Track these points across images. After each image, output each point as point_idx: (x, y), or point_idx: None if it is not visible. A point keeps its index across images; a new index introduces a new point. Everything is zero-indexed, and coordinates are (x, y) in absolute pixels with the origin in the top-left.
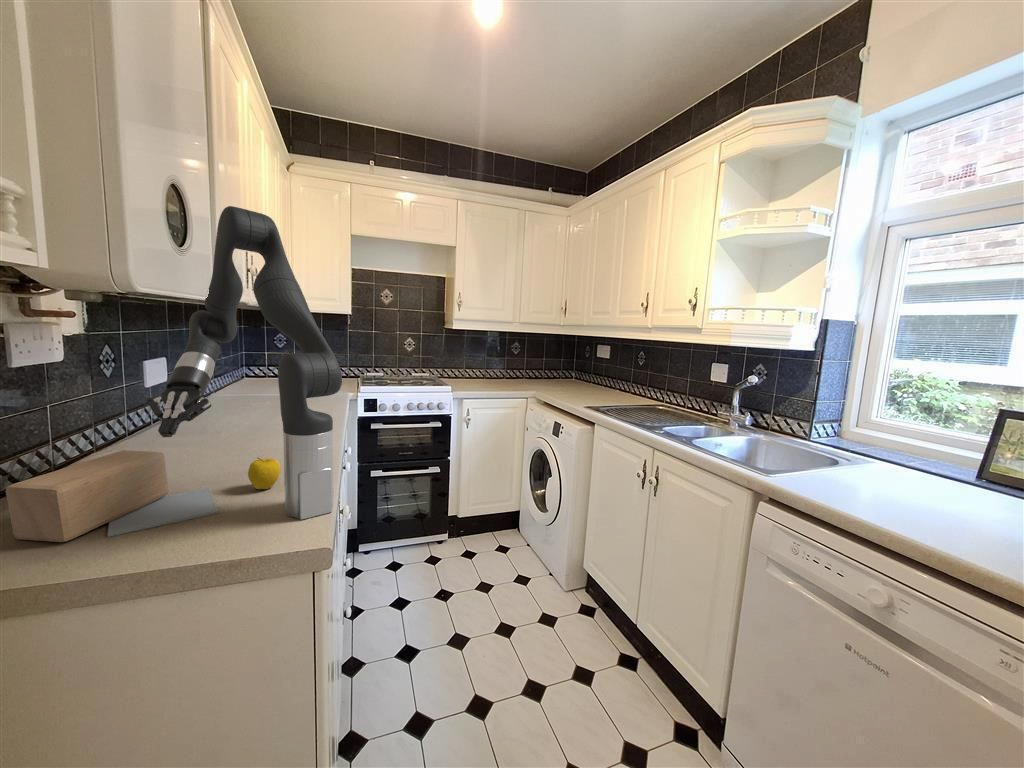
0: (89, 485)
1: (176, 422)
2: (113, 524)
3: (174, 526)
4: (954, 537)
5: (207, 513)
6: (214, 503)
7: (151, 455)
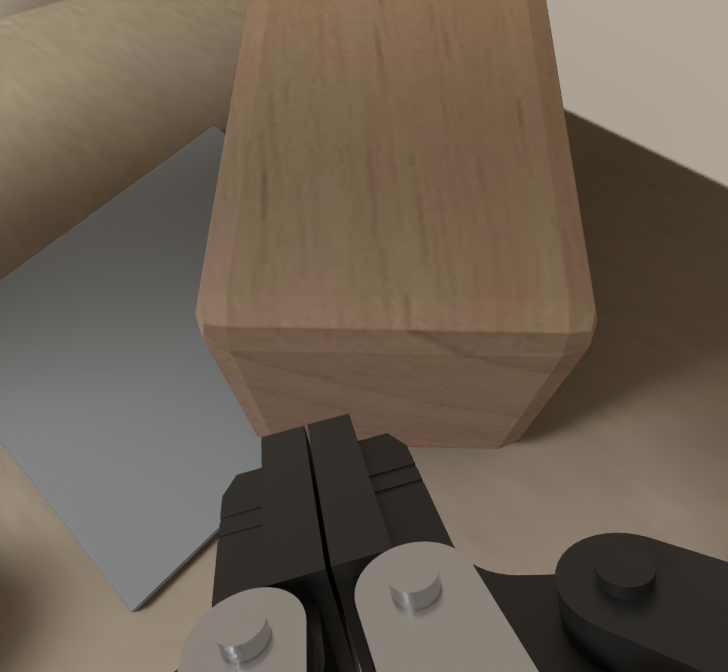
0: None
1: (214, 597)
2: None
3: (43, 219)
4: None
5: None
6: None
7: (221, 235)
